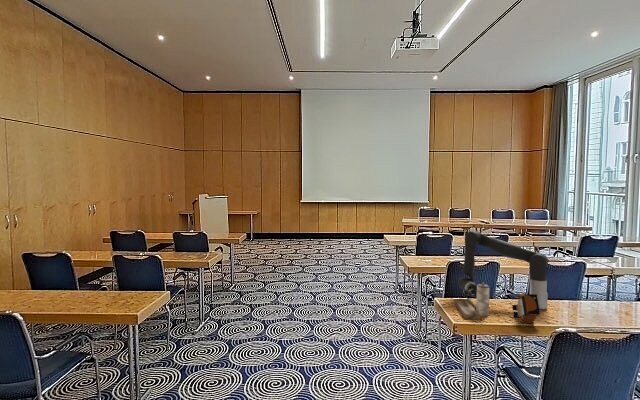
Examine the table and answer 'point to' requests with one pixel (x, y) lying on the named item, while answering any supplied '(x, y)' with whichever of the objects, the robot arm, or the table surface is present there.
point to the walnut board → (467, 310)
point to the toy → (527, 308)
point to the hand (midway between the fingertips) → (478, 295)
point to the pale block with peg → (482, 299)
